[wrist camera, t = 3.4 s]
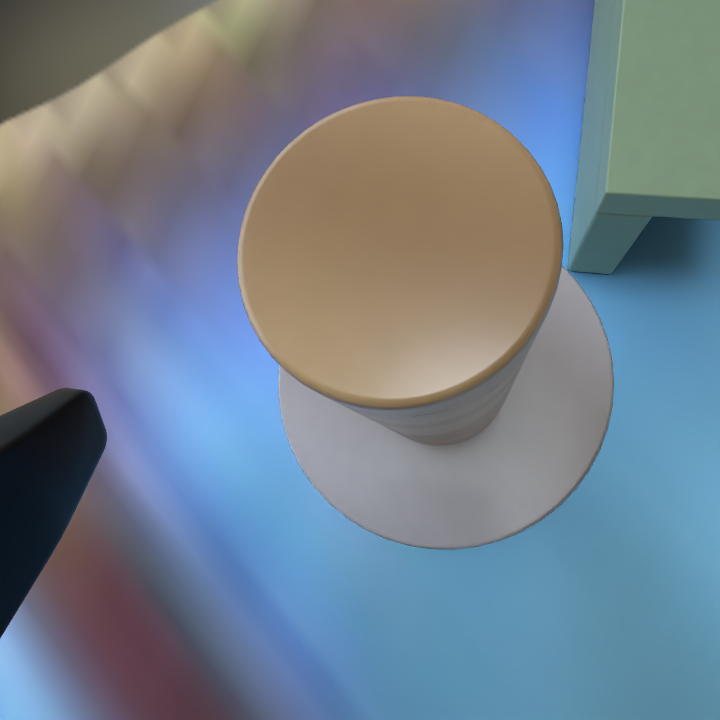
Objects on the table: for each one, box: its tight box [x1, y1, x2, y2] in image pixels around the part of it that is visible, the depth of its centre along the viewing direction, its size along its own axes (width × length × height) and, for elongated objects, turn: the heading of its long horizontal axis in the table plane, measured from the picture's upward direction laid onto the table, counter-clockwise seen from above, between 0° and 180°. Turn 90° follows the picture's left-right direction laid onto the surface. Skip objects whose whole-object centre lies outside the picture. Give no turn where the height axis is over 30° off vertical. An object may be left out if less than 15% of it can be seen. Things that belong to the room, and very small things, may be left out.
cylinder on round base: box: [237, 96, 614, 549], centre depth 11 cm, size 7×7×12 cm
